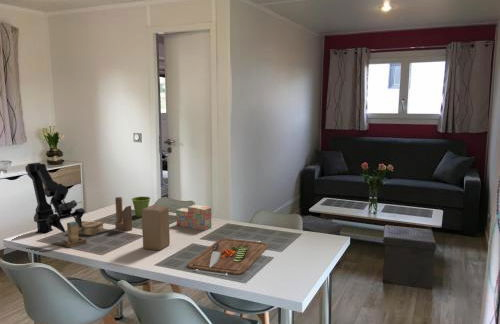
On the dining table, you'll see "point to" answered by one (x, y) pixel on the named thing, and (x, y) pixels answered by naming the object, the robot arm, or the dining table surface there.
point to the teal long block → (72, 232)
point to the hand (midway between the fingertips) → (73, 229)
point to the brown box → (90, 228)
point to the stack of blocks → (194, 217)
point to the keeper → (74, 243)
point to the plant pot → (140, 204)
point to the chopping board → (228, 256)
